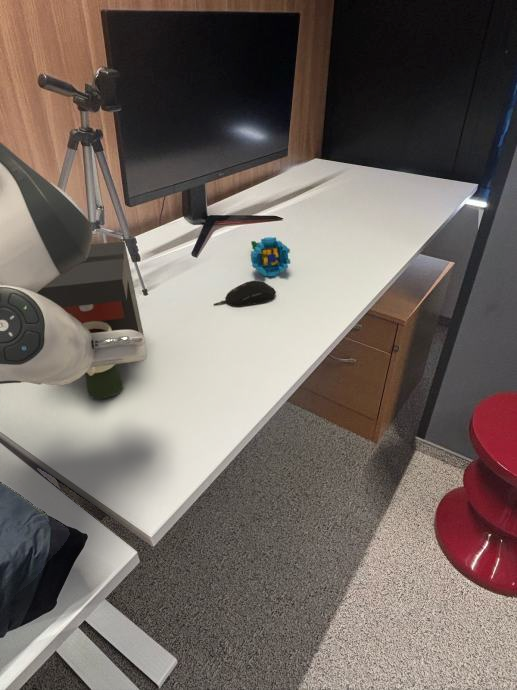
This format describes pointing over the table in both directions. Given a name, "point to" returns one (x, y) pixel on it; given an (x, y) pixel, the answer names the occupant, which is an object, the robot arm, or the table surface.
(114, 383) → the character mug
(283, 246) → the toy flower
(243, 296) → the gaming mouse
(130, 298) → the dark brown box
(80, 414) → the table surface
